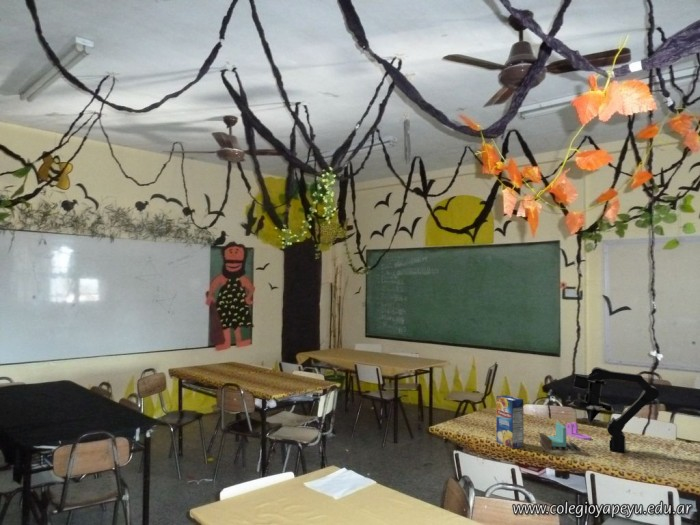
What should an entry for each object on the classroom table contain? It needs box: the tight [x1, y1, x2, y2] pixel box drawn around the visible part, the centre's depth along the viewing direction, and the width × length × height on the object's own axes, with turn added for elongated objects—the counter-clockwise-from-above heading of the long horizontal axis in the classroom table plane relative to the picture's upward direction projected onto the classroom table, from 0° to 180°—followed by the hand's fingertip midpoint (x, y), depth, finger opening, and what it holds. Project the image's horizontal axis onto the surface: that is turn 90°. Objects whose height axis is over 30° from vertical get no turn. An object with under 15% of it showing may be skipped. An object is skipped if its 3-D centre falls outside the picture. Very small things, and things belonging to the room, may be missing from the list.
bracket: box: [565, 421, 592, 441], centre depth 282 cm, size 13×6×7 cm, turn 32°
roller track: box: [538, 432, 585, 455], centre depth 259 cm, size 18×13×6 cm
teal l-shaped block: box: [546, 421, 567, 447], centre depth 259 cm, size 7×11×9 cm, turn 177°
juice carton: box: [496, 394, 525, 449], centre depth 266 cm, size 12×8×24 cm, turn 25°
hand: (590, 421), depth 263 cm, fingers closed
